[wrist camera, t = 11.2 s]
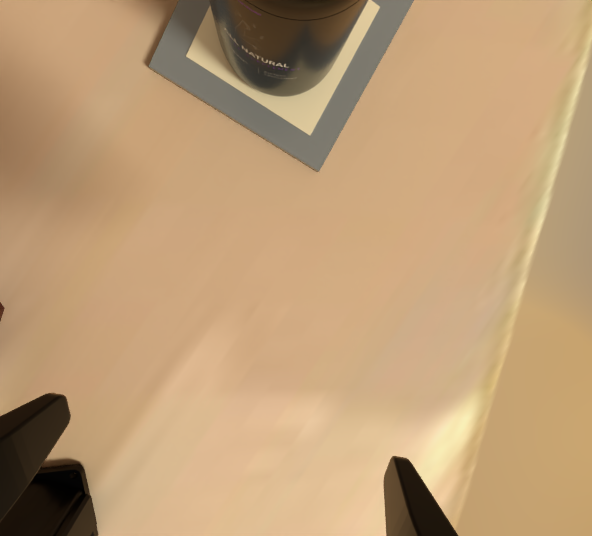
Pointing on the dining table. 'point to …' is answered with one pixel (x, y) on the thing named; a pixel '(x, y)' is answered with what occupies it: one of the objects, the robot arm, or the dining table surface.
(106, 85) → the dining table surface
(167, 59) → the foundation tile
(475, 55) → the dining table surface
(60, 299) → the dining table surface
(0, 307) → the muffin
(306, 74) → the supplement bottle
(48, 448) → the robot arm
